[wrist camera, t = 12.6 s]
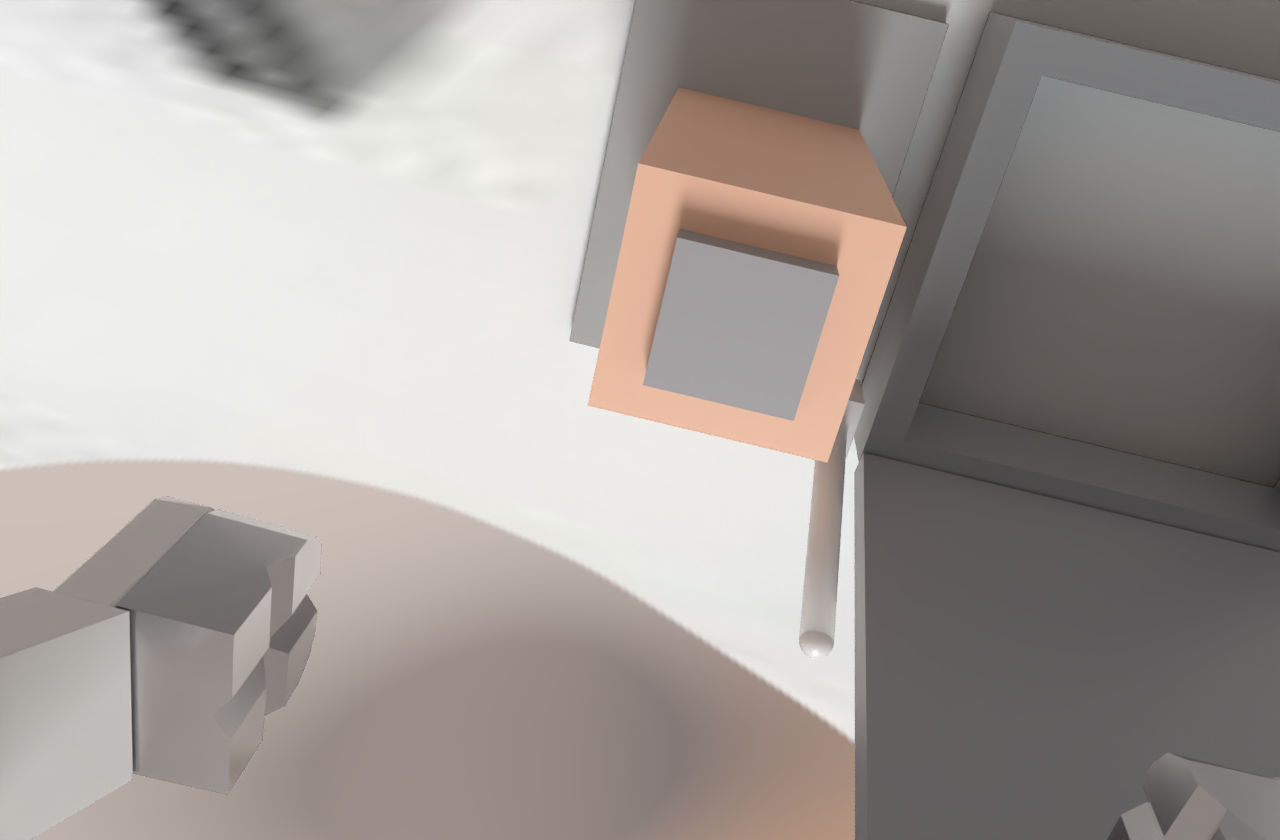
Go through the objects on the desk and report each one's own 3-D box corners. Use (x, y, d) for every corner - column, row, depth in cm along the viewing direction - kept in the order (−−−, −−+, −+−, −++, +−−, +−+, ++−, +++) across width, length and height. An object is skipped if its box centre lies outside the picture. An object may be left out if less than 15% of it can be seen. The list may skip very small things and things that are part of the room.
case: (1519, 137, 26) (2292, 348, 13) (1236, 611, 33) (1552, 1063, 20) (925, -4, 26) (1092, 62, 13) (768, 498, 33) (771, 873, 20)
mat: (945, 23, 26) (948, 24, 26) (823, 395, 31) (825, 402, 31) (646, -48, 26) (645, -48, 26) (572, 335, 31) (569, 340, 31)
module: (859, 130, 27) (911, 236, 18) (807, 301, 30) (829, 476, 20) (678, 87, 27) (634, 170, 18) (640, 261, 30) (583, 417, 20)
